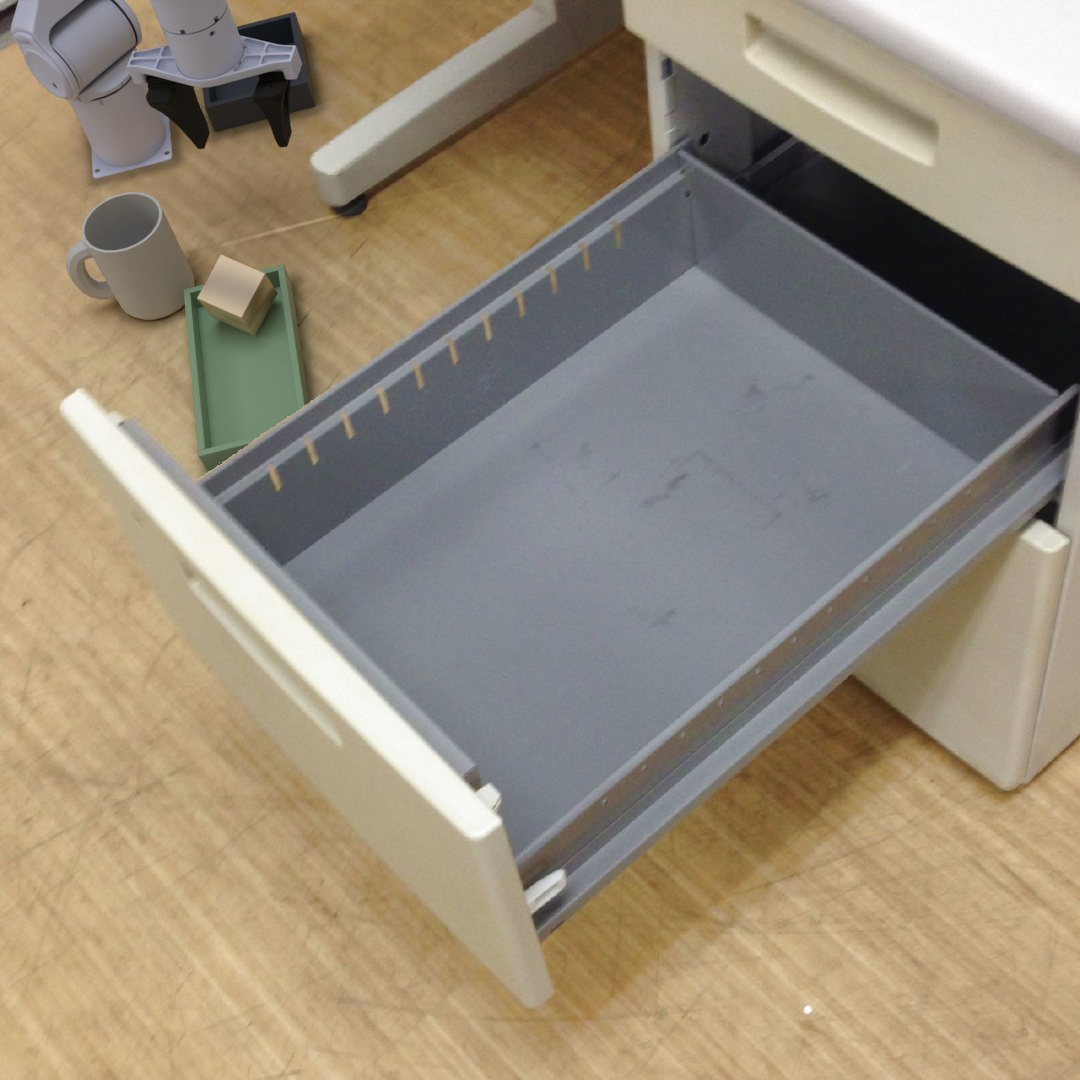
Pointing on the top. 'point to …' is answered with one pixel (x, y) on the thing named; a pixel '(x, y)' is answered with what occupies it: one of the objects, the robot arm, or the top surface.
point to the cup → (132, 257)
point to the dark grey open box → (236, 98)
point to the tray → (243, 372)
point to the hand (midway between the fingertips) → (244, 140)
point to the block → (237, 295)
